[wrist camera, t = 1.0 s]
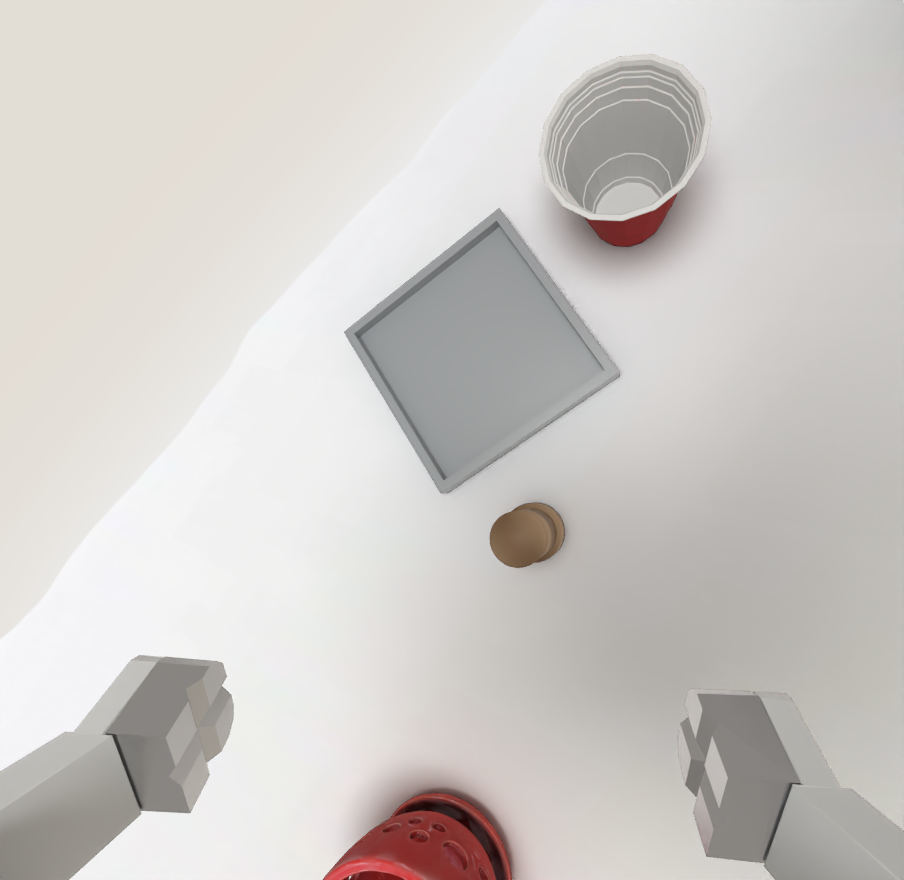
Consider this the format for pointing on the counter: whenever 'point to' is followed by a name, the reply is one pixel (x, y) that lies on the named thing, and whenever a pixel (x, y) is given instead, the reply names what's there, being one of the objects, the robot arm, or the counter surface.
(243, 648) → the counter surface
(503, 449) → the grey tray
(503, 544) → the walnut pestle
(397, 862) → the plant pot
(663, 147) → the plastic cup
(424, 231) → the counter surface
